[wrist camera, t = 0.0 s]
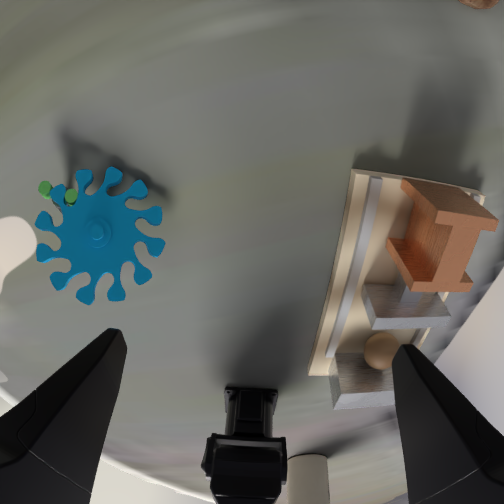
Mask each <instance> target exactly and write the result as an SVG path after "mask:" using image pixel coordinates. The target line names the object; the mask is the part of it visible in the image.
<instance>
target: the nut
mask: <svg viewBox="0 0 504 504" xmlns="http://www.w3.org/2000/svg"><path fill="white" fill-rule="evenodd" d="M399 346H400V345H399V342H398V340H397V339H396V338H395V337H394V336H393V335H391V334H389V333H385V332H381V333H377V334H374V335H373V336H371V337H370V338H369V339H368V340H367V342H366V344H365V346H364V358H365V360H366V362H367V363H368V365H369V366H371V367H372V368H375V369H379V370H382V369H387V368H389V367H391V366H392V360H393V358H394V356H395V354H396V352H397V350H398V348H399Z"/></svg>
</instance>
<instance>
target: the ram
mask: <svg viewBox="0 0 504 504" xmlns="http://www.w3.org/2000/svg"><path fill="white" fill-rule="evenodd" d="M400 188H401V189H402V190H403V191H404V192H405V193H406V194H407V195H408V196H409V197H410V198H411V199H412V200H413V201H414V204H413V208H412V212H411V215H410V219H409V223H408V226H407V230H406V233H405V237H404V239H399V238H388V239H387V243H386V246H385V247H386V249H387V250H388V252H389V254H390V256H391V257H392V259H393V261H394V263H395V264H396V266H397V268H398V270H399V273H398V276H397V279H396V282H395V285H382V284H364V285H363V289H362V292H361V298H362V301H363V304H364V307H365V310H366V313H367V316H368V319H369V322H370V325H371V329H372V330H378V329H413V328H434V327H446V325H447V323H448V321H449V319H450V318H451V315H450V313H449V311H448V310H447V308H446V306H445V304H444V303H443V301H442V299H441V297H440V296H439V294H438V292H469V291H470V289H471V287H472V285H473V281H472V280H471V279H470V277H469V276H468V275H467V273H466V272H465V269H466V266H467V264H468V262H469V259H470V257H471V254H472V252H473V249H474V247H475V244H476V242H477V239H478V236H479V233H480V231H481V230H487V231H494V232H495V230H496V227H497V225H498V222H499V220H498V219H497V218H496V217H495V216H493V215H492V214H491V213H490V212H489V211H488V210H486V209H485V208H484V207H483V206H482V205H480V204H479V203H478V202H477V201H475V200H474V199H473V198H472V197H470V196H469V195H468V194H467V193H465V192H464V191H463V190H462V189H460V188H459V187H454V186H449V185H444V184H439V183H433V182H428V181H422V180H416V179H411V178H404V177H403V178H402V183H401V187H400Z"/></svg>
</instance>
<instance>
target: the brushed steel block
mask: <svg viewBox="0 0 504 504" xmlns="http://www.w3.org/2000/svg"><path fill="white" fill-rule="evenodd" d="M328 374H329V381H330V388H331V395H332V403H333V409H351V408H365V407H376V406H386V405H395V397H394V385H393V375H392V366H391V367H389V368H387V369H382V370H379V369H375V368H372V367H371V366H369V365H368V363H367V362H366V360H365V358H364V352H360V353H335V354H334V357H333V358H332V361H331V363H330V366H329V369H328Z"/></svg>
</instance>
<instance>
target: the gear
mask: <svg viewBox="0 0 504 504" xmlns="http://www.w3.org/2000/svg"><path fill="white" fill-rule="evenodd" d="M76 180H77V182H78V187H79V191H78V193H77V191H76V190H75V189H68V188H66V187H65V186H64V185H63V184H60V185H57V186H56V187H54V188H53V187H52V185H51V184H50V183H49V182H48V181H43V182H41V183H40V185H39V188H38V190H39V192H40V193H41V195H42V196H43V197H44V198H45V199H50V198H52V201H53V204H54V205H55V206H56V207H57V208H58V209H59V210H60V212H61V213H62V214H63V223H62V224H61V225H60V226H58V227H54V225H53V221H52V217H51V216H50V215H49V214H48V213H47V212H46V211H42V212H41V213H40V214H39V215H38V217H37V219H36V222H35V226H36V227H37V228H39V229H40V230H42V231H50V232H53V233H55V234H56V235H57V236H58V237H59V238H60V240H61V247H60V249H59V250H58V251H53V250H52V249H51V248H50V247H49V246H48V245H46V244H43V243H41V244H38V245H37V249H36V256H37V261H39V262H42V263H46V262H48V261H50V260H52V259H54V258H65V259H68V260H70V262H71V270H70V271H69V272H67V273H62V272H53V273H52V274H51V275H50V280H51V282H52V284H53V286H54V287H55V289H56V290H63V289H65V288H66V286H67V284H68V282H69V281H70V280H71V279H72V278H73V277H74V276H76V275H78V274H80V273H83V272H87V273H89V274H90V277H91V282H90V284H89V285H87V286H85V287H82V288H80V289H79V290H78V291H77V293H76V298H77V299H78V300H79V301H81V302H83V303H85V304H87V305H90V304H92V303H93V301H94V299H95V287H96V284H97V282H98V281H99V279H100V278H101V277H102V276H103V275H104V274H105V273H111V274H112V275H113V276H114V284H113V285H112V286H111V287H110V289H109V290H108V293H107V297H108V299H109V301H123V300H124V299H125V296H126V295H125V291H124V289H123V287H122V285H121V281H120V272H121V267H122V264H123V263H124V262H127V261H129V262H132V263H133V264H134V266H135V272H134V280H135V282H136V283H137V284H138V285H141V284H144V283H146V282H147V281H148V280H149V279H151V278H152V274H151V272H150V270H149V269H147V268H146V267H144V266H143V265H142V264H141V263H140V262H139V261H138V259H137V257H136V255H135V252H134V248H133V247H134V244H135V243H136V242H139V241H141V242H144V243H145V244H146V246H147V249H148V252H149V254H150V255H151V256H153V257H158V256H159V255H160V254H161V252H162V251H163V248H164V246H165V241H164V240H162V239H161V238H152V237H148V236H146V235H144V234H143V233H141V232H140V231H139V230H138V229H137V228H136V227H135V221H136V220H137V219H139V218H143V219H145V220H146V221H147V222H148V223H149V224H151V225H153V226H157V225H160V223H161V221H162V209H161V207H159V206H153V207H151V208H149V209H147V210H142V211H137V210H132V209H129V208H127V207H126V206H125V202H126V200H127V199H130V198H133V199H137V200H142V199H144V198H145V197H146V196H147V194H148V191H147V188H146V186H145V184H144V183H143V181H142V180H137V181H135V182H134V183H133V184H132V186H131V187H130V188H129V189H128V190H127V191H126V192H124V193H122V194H120V195H117V196H113V197H112V196H109V195H108V194H107V190H108V188H110V187H112V186H115V185H118V184H119V183H120V182H121V181H122V172H121V171H119V170H118V169H116V168H114V167H111V166H110V167H109V168H108V169H107V170H106V173H105V179H104V182H103V184H102V186H101V187H100V188H99V190H98V191H97V192H96V193H95V194H93V195H91V196H89V195H86V194H85V190H86V188H87V187H88V186H89V185H90V184H91V183H92V181H93V174H92V171H91V170H88V169H83V170H77V172H76Z"/></svg>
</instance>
